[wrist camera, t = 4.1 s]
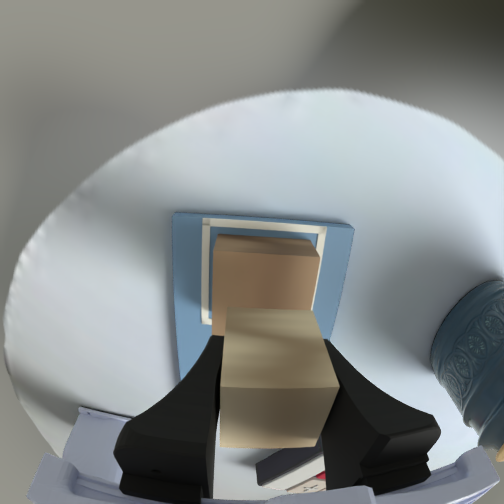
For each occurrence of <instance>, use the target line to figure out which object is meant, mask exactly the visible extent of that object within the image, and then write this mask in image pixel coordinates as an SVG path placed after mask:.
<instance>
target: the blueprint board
mask: <svg viewBox="0 0 504 504" xmlns="http://www.w3.org/2000/svg"><path fill="white" fill-rule="evenodd" d="M354 230H355V229H354V228H353V227H352V226H351V225H347V224H336V223H325V222H314V221H302V220H289V219H276V218H263V217H248V216H233V215H216V214H198V213H178V212H175V214H174V215H173V216H172V251H173V283H174V304H175V321H176V335H177V348H178V359H179V370H180V379H181V380H182V379H183V378H184V377H185V376H186V374H187V373H188V372H189V371H190V369H191V368H192V367H193V365H194V364H195V363H196V361H197V360H198V358H199V356H200V355H201V353H202V352H203V350H204V348H205V346H206V344H207V342H208V340H209V338H210V336H212V280H213V250H214V246H215V242H216V239H217V235H218V234H231V235H247V236H262V237H277V238H291V239H305V240H310V241H311V242H312V244H313V246H314V247H315V249H316V251H317V252H318V254H319V256H320V263H319V269H318V275H317V280H316V286H315V291H314V296H313V301H312V306H311V310H313V312H314V315H315V318H316V321H317V323H318V326H319V329H320V332H321V334H322V337H323V339H328V340H329V341H330V337H331V334H332V330H333V326H334V322H335V318H336V314H337V310H338V306H339V302H340V297H341V293H342V289H343V284H344V280H345V275H346V271H347V266H348V261H349V256H350V251H351V246H352V241H353V235H354Z"/></svg>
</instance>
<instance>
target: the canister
mask: <svg viewBox="0 0 504 504" xmlns="http://www.w3.org/2000/svg"><path fill="white" fill-rule="evenodd" d="M431 365H432V367H433V369H434V374H435V376H436V378H437V380H438V381H439V383H440V384H441V385H442V386H443V387H444V388H445V389H446V391H447V392H448V394H449V395H450V397H451V399H452V400H453V402H454V403H455V405H456V407H457V408H458V410H459V411H460V413H461V415H462V416H463V422H464V424H465V425H466V426H468V427H472V428H474V430H475V431H476V433H477V434H478V435H479V439H478V446H480V445H482V446H483V448H484V450H485V451H486V450H492V449H494V450H495V451H497V452H498V453H497V455H496V461H498V462H501V461H504V282H502V281H499V280H493V281H489V282H486V283H483V284H481V285H479V286H478V287H476V288H475V289H473V290H472V291H471V292H469V293H468V294H467V295H466V296H465V297H464V298H463V299H462V300H461V301H460V302H459V303H458V304H457V305H456V306H455V307H454V308H453V310H452V311H451V312H450V313H449V315H448V316H447V318H446V319H445V321H444V322H443V324H442V325H441V327H440V329H439V331H438V333H437V335H436V337H435V340H434V343H433V346H432V350H431Z"/></svg>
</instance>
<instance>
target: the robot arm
mask: <svg viewBox="0 0 504 504" xmlns="http://www.w3.org/2000/svg"><path fill="white" fill-rule="evenodd" d="M323 340H324V343H325V346H326V348H327V351H328V354H329V357H330V360H331V363H332V366H333V369H334V372H335V374H336V377H337V380H338V383H339V386H340V387H339V390H338V392H337V395H336V397H335V400H334V403H333V405H332V407H331V410H330V412H329V415H328V417H327V420H326V422H325V424H324V427H323V429H322V431H321V439H322V447H323V456H324V465H325V480H326V491H319V492H309V493H297V494H289V495H282V496H278V497H275V498H272V499H269V500H258V501H250V500H221V499H213V480H214V459H215V441H216V429H217V422H218V417H219V411H220V384H221V371H222V359H223V348H224V336H220V335H212V336H210V338H209V340H208V342H207V344H206V346H205V348H204V350H203V352H202V353H201V355H200V356H199V358H198V360H197V361H196V363H195V364H194V365H193V367H192V368H191V369H190V371H189V372H188V373H187V374H186V376H185V377H184V378H183V379H182V380H181V381H180V382H179V384H178V385H177V386H176V387H175V388H174V389H173V390H172V391H170V392H169V393H168V394H167V395H166V396H165V397H164V398H163V399H161V400H160V401H159V402H157V403H156V404H155V405H153V406H152V407H150V408H149V409H148V410H146V411H145V412H143V413H141V414H140V415H138V416H136V417H134V418H133V419H131V418H126V417H121V416H117V415H112V414H108V413H104V412H99V411H95V410H92V409H88V408H84V407H79V408H78V411H79V413H80V414H79V416H78V418H77V420H76V423H75V425H74V427H73V429H72V431H71V434H70V436H69V438H68V440H67V443H66V445H65V448H64V451H63V458H59V457H56V456H54V455H51V454H49V453H44V455H43V457H42V460H41V462H40V464H39V467H38V469H37V471H36V474H35V476H34V478H33V481H32V483H31V486H30V488H29V491H28V493H27V498H28V499H29V500H30V501H31V502H33V503H34V504H472V503H473V502H474V501H476V500H477V499H478V498H480V496H482V495H483V494H485V493H486V492H487V491H488V490H490V489H491V488H492V487H493V486H494V485H496V484H497V483H498V482H499V481H500V478H499V476H498V475H497V472H496V471H495V469H494V467H493V465H492V463H491V461H490V459H489V457H488V455H487V454H486V452H485V450H484V448H483V446H482V445H480V446H478V447H476V448H473V449H471V450H469V451H467V452H465V453H463V454H462V455H461V456H460V457H459V458H458V459H457V460H456V461H455V462H454V463H452V464H449V465H447V466H444V467H441V468H439V469H436V470H433V471H430V470H429V468H428V466H427V463H426V462H428V461H429V458H428V455H427V452H428V451H429V450H430V449H431V448H432V447H433V445H434V444H435V443H436V442H437V440H438V439H439V437H440V434H441V429H440V427H439V425H438V424H437V422H436V420H435V418H434V416H433V415H431V414H428V413H425V412H423V411H420V410H417V409H415V408H412V407H410V406H408V405H406V404H404V403H402V402H400V401H398V400H396V399H395V398H393V397H391V396H390V395H388V394H386V393H385V392H383V391H382V390H380V389H379V388H378V387H376V386H375V385H374V384H372V383H371V382H370V381H369V380H367V379H366V378H365V377H364V376H363V375H362V374H361V373H359V372H358V371H357V370H356V369H355V368H354V367H353V366H352V365H351V364H350V363H349V362H348V361H347V360H346V359H345V358H344V357H343V356H342V354H341V353H340V352H339V351H338V350H337V349H336V348H335V347H334V346H333V345H332V343H331V342H330V341H329V340H328V339H323Z"/></svg>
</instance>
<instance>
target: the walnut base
mask: <svg viewBox="0 0 504 504" xmlns="http://www.w3.org/2000/svg"><path fill="white" fill-rule="evenodd" d="M319 263H320V256H319V254H318V252H317V251H316V249H315V247H314V246H313V244H312V242H311V241H310V240H305V239H291V238H277V237H262V236H247V235H231V234H218V235H217V239H216V242H215V246H214V250H213V280H212V335H220V336H225V325H226V314H227V307H240V308H259V309H282V310H311V306H312V301H313V296H314V291H315V286H316V280H317V275H318V269H319Z"/></svg>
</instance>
